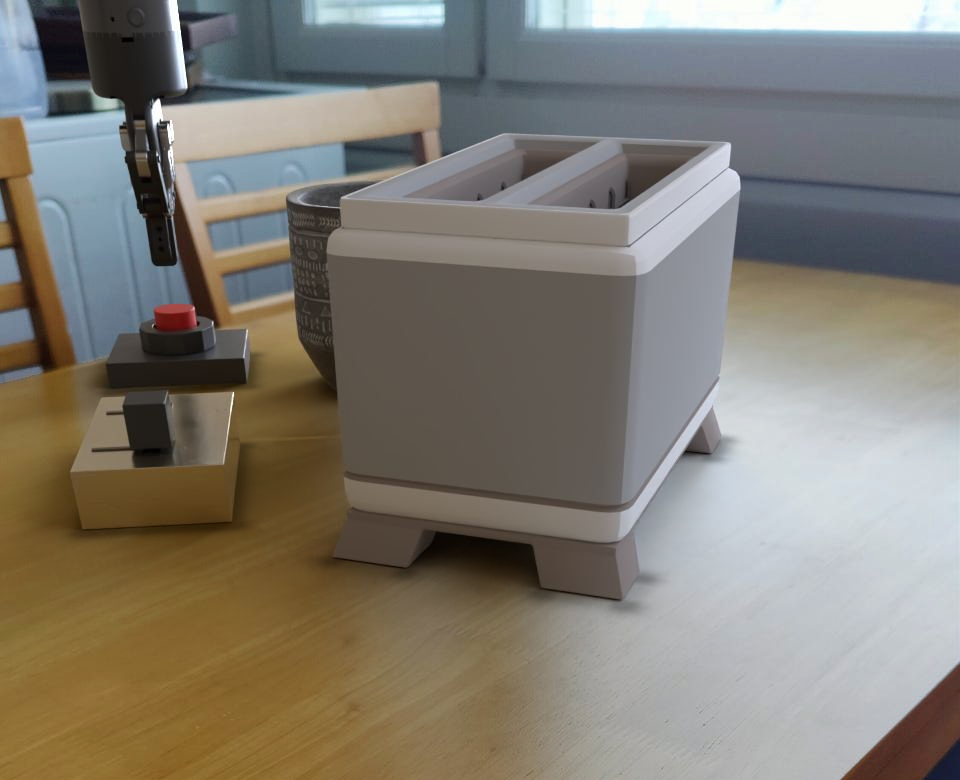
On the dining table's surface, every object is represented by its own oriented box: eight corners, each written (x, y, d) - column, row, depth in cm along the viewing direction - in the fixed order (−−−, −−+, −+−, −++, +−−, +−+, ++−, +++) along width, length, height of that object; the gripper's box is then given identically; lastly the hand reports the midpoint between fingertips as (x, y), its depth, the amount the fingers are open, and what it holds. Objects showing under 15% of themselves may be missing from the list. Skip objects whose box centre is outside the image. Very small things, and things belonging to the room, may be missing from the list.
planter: (432, 352, 115) (427, 175, 106) (483, 394, 105) (482, 201, 96) (286, 368, 112) (268, 185, 103) (324, 413, 101) (307, 214, 92)
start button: (154, 335, 108) (151, 314, 106) (158, 324, 110) (155, 304, 109) (195, 333, 108) (192, 312, 107) (198, 323, 111) (195, 302, 110)
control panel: (82, 529, 82) (69, 470, 79) (111, 449, 94) (100, 396, 92) (231, 522, 83) (223, 462, 80) (240, 443, 95) (233, 390, 93)
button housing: (110, 389, 107) (101, 342, 104) (123, 358, 115) (115, 313, 112) (247, 383, 108) (241, 336, 105) (250, 352, 116) (245, 308, 113)
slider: (130, 450, 82) (121, 405, 80) (134, 435, 84) (126, 391, 82) (171, 448, 82) (164, 403, 80) (175, 433, 85) (168, 389, 83)
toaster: (729, 425, 98) (763, 134, 86) (623, 600, 72) (649, 222, 60) (504, 401, 103) (506, 124, 91) (332, 557, 78) (301, 201, 65)
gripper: (93, 20, 100) (130, 250, 111) (69, 30, 90) (113, 283, 100) (185, 20, 101) (213, 248, 111) (172, 29, 90) (204, 280, 101)
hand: (165, 264), depth 106 cm, fingers closed
